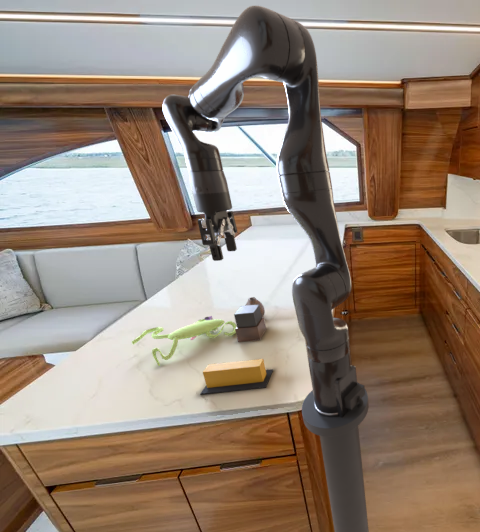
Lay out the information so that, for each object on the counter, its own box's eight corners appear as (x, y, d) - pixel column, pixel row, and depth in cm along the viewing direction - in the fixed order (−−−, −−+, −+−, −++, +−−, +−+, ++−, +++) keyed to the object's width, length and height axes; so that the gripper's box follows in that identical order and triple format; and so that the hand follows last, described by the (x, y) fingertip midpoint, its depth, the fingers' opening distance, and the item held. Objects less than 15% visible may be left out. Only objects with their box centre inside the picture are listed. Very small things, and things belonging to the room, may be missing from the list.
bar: (266, 373, 82) (263, 358, 80) (263, 381, 79) (259, 366, 77) (212, 379, 80) (208, 364, 79) (207, 388, 77) (202, 372, 76)
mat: (273, 370, 84) (273, 369, 84) (265, 387, 77) (265, 386, 77) (213, 376, 82) (212, 375, 82) (200, 395, 75) (200, 393, 75)
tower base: (266, 329, 105) (263, 316, 104) (260, 340, 99) (257, 326, 97) (245, 331, 105) (242, 318, 103) (238, 342, 98) (234, 328, 96)
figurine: (133, 348, 96) (127, 333, 94) (222, 316, 115) (218, 303, 113) (145, 372, 85) (139, 355, 83) (242, 332, 103) (238, 318, 102)
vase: (241, 322, 110) (236, 301, 108) (255, 314, 117) (251, 293, 114) (256, 325, 108) (252, 303, 105) (269, 316, 114) (265, 295, 112)
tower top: (261, 317, 103) (259, 304, 102) (256, 326, 98) (253, 312, 96) (243, 319, 103) (240, 306, 101) (237, 327, 97) (233, 314, 95)
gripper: (214, 192, 65) (230, 262, 70) (238, 188, 78) (250, 247, 84) (177, 194, 64) (196, 265, 69) (208, 189, 77) (222, 248, 83)
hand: (225, 255), depth 77 cm, fingers open, 8 cm apart
